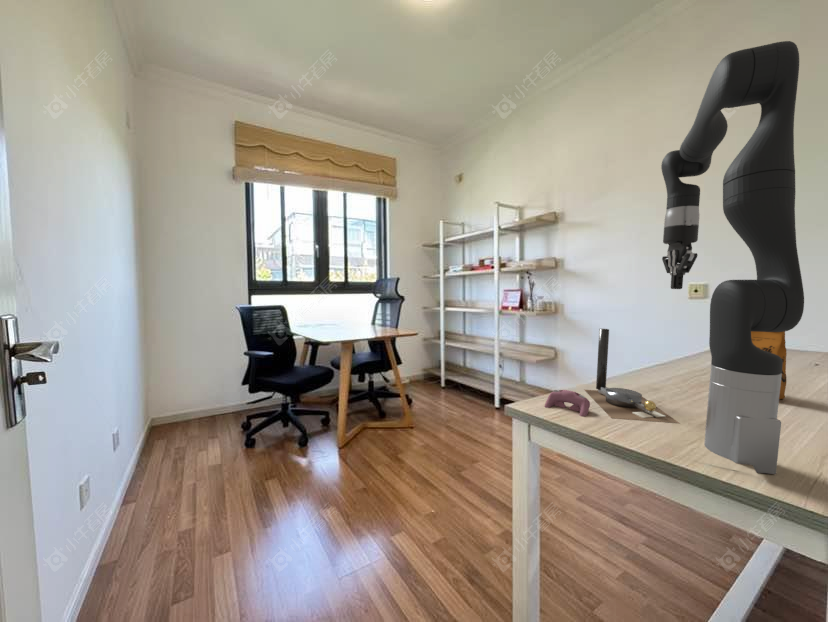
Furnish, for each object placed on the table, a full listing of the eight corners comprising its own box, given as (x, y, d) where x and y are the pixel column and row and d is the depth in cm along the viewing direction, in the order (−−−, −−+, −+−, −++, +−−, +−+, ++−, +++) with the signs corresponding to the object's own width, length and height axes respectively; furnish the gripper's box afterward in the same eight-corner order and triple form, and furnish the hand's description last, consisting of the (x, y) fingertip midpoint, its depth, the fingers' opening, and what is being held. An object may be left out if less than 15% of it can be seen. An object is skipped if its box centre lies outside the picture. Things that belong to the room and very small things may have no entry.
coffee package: (773, 403, 94) (781, 323, 92) (719, 390, 105) (725, 319, 103) (791, 399, 98) (800, 322, 96) (737, 386, 109) (743, 318, 107)
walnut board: (679, 429, 76) (680, 422, 76) (611, 424, 79) (611, 417, 79) (636, 397, 97) (636, 391, 97) (583, 394, 100) (583, 388, 100)
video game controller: (588, 425, 82) (593, 396, 84) (584, 422, 79) (589, 392, 81) (547, 414, 89) (552, 388, 90) (541, 411, 85) (547, 384, 87)
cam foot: (668, 414, 80) (674, 339, 79) (639, 416, 79) (644, 339, 77) (609, 390, 98) (613, 328, 97) (585, 391, 97) (588, 328, 95)
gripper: (653, 229, 101) (649, 288, 102) (679, 221, 88) (674, 289, 89) (682, 228, 99) (678, 288, 101) (712, 220, 86) (707, 289, 88)
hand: (676, 288), depth 95 cm, fingers closed
